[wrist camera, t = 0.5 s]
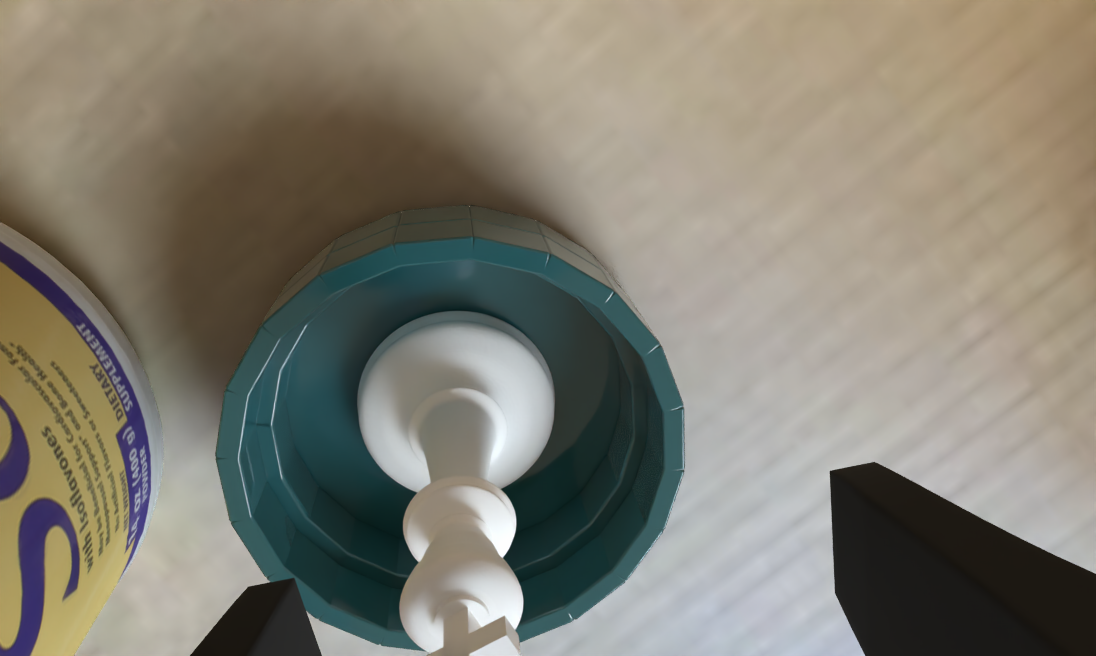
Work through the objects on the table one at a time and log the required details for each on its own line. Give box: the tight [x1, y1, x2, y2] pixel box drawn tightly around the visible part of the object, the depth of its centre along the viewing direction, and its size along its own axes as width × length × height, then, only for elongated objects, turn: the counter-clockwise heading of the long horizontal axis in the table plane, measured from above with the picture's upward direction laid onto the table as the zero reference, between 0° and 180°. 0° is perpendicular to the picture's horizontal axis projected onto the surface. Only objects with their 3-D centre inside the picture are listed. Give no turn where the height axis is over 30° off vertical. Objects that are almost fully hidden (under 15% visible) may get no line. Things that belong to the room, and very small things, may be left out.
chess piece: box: [357, 311, 555, 656], centre depth 16 cm, size 5×5×10 cm
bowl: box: [215, 205, 685, 651], centre depth 20 cm, size 10×10×4 cm
